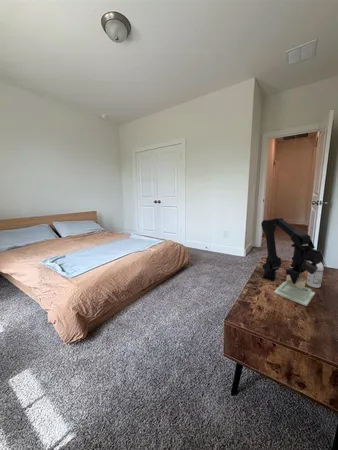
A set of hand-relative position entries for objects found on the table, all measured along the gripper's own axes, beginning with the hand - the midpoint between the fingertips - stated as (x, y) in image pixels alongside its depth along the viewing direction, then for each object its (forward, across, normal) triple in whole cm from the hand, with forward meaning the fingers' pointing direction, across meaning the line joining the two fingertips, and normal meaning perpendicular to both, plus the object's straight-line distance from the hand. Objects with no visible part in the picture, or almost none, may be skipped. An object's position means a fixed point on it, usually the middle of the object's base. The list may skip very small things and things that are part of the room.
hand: (295, 282), depth 107 cm
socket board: (+7, 0, 0) cm, 7 cm away
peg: (+1, 0, 0) cm, 1 cm away
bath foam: (+7, +19, -5) cm, 21 cm away
